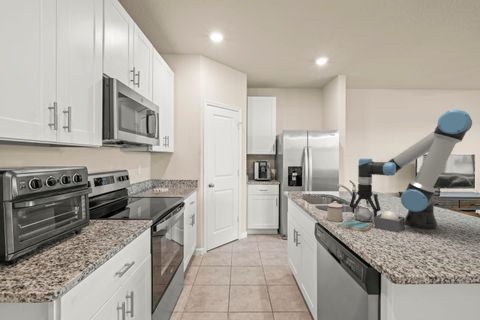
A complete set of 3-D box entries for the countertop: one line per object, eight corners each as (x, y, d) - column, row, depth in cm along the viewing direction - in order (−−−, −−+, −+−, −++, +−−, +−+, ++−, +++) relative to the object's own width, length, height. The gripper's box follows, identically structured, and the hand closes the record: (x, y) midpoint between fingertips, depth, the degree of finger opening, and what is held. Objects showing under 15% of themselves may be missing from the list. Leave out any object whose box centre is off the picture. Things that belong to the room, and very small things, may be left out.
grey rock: (371, 224, 148) (377, 210, 150) (357, 217, 149) (364, 203, 152) (364, 226, 155) (370, 212, 158) (351, 218, 157) (357, 205, 160)
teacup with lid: (345, 221, 152) (346, 202, 151) (331, 222, 150) (332, 202, 150) (335, 216, 163) (335, 199, 163) (321, 217, 162) (322, 199, 162)
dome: (401, 226, 139) (401, 210, 139) (396, 229, 132) (397, 213, 132) (382, 223, 145) (382, 208, 145) (377, 226, 139) (377, 210, 139)
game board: (373, 226, 141) (373, 224, 141) (364, 232, 131) (364, 229, 131) (347, 222, 151) (347, 219, 151) (337, 226, 141) (337, 224, 141)
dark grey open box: (404, 228, 139) (404, 217, 139) (398, 232, 131) (399, 221, 131) (381, 224, 147) (381, 213, 147) (374, 228, 139) (374, 217, 139)
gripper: (343, 182, 158) (343, 218, 159) (383, 186, 143) (382, 225, 143) (348, 182, 164) (348, 216, 164) (387, 185, 148) (386, 223, 148)
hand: (364, 220), depth 154 cm, fingers open, 10 cm apart
